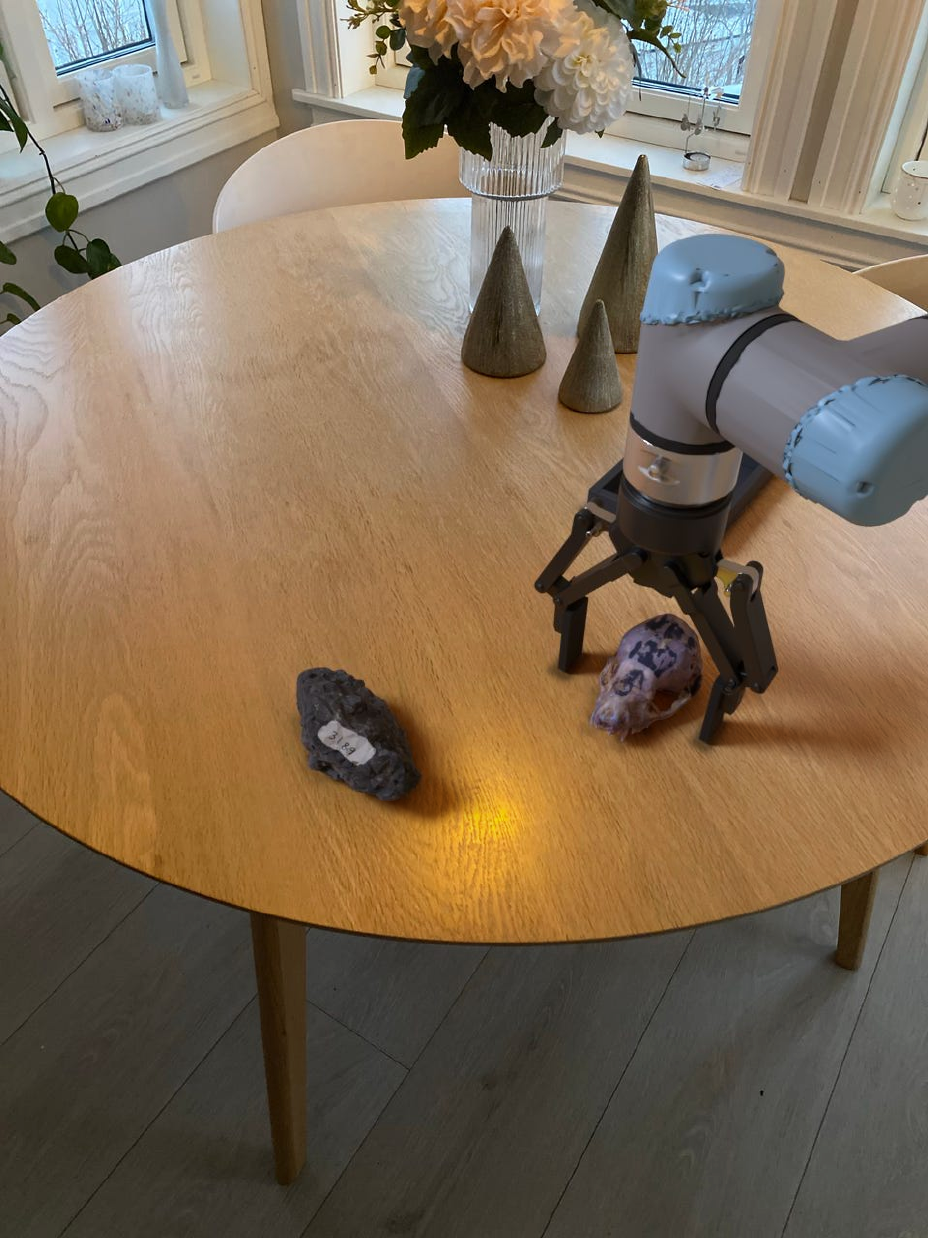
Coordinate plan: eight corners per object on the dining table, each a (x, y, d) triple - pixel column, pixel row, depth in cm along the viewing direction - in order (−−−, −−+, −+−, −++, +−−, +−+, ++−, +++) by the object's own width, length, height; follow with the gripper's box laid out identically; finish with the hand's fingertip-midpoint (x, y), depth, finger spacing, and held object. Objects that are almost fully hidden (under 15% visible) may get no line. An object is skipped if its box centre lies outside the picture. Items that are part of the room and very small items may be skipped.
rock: (245, 676, 73) (349, 634, 68) (314, 679, 80) (412, 641, 76) (278, 832, 70) (388, 799, 66) (346, 820, 77) (449, 789, 73)
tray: (773, 475, 102) (779, 455, 100) (702, 558, 92) (707, 537, 90) (663, 436, 108) (667, 416, 106) (586, 510, 97) (588, 489, 96)
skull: (629, 761, 73) (632, 700, 70) (554, 717, 78) (553, 657, 74) (719, 686, 80) (726, 627, 76) (645, 649, 85) (648, 592, 81)
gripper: (495, 444, 67) (489, 658, 82) (836, 579, 57) (759, 797, 71) (552, 399, 71) (537, 609, 86) (878, 516, 61) (797, 733, 76)
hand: (637, 694), depth 79 cm, fingers open, 12 cm apart
